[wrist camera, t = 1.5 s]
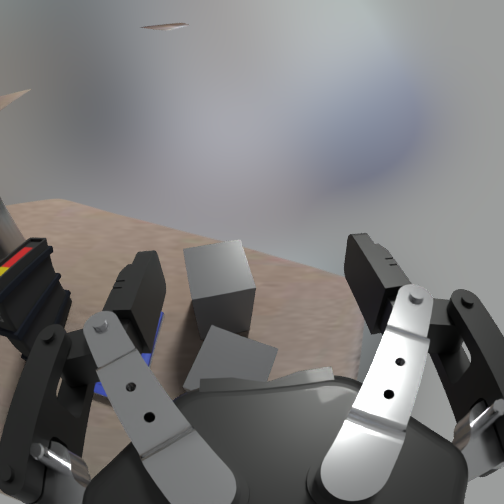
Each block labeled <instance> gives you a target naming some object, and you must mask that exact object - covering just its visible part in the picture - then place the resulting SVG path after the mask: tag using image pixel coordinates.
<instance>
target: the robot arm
mask: <svg viewBox="0 0 504 504" xmlns="http://www.w3.org/2000/svg"><path fill="white" fill-rule="evenodd" d="M25 241H26V240H25V238H24V236H23V235H22V233H21V232H20V230H19V228H18V227H17V225H16V223H15V222H14V220H13V218H12V217H11V215H10V213H9V212H8V210H7V208H6V206H5V205H4V203H3V201H2V199H1V197H0V261H1V260H2V259H4V258H5V257H6V256H7V255H9V254H10V253H11V252H12V251H13V250H15V249H16V248H17V247H19V246H20V245H21V244H22V243H24V242H25ZM344 273H345V278H346V280H347V282H348V284H349V286H350V289H351V291H352V293H353V295H354V297H355V299H356V301H357V304H358V306H359V308H360V310H361V312H362V315H363V317H364V319H365V321H366V323H367V326H368V328H369V330H370V333H371V334H377V333H382V336H383V338H382V341H381V343H380V346H379V348H378V351H377V353H376V356H375V358H374V361H373V363H372V365H371V368H370V370H369V372H368V375H367V377H366V379H365V381H364V384H362V383H361V382H359V381H356V380H354V379H351V378H347V377H342V376H334V375H333V372H332V368H331V367H325V368H318V369H311V370H304V371H299V372H296V373H293V374H290V375H287V376H284V377H281V378H278V379H275V380H272V381H269V382H261V381H254V380H246V379H240V378H233V377H229V378H205V379H200V387H199V388H197V389H194V390H191V391H188V392H186V393H184V394H182V395H180V396H179V397H177V398H175V399H174V400H173V401H172V400H171V398H170V397H169V396H168V394H167V393H166V392H165V390H164V389H163V387H162V386H161V384H160V383H159V382H158V380H157V379H156V377H155V376H154V374H153V373H152V371H151V370H150V368H149V367H148V365H147V364H146V362H145V361H144V359H143V358H142V356H141V355H142V353H146V354H152V349H153V345H154V340H155V336H156V331H157V327H158V323H159V319H160V314H161V310H162V306H163V302H164V298H165V294H166V283H165V279H164V275H163V272H162V268H161V265H160V261H159V258H158V255H157V252H156V251H155V250H153V251H143V252H138V253H137V254H136V257H135V259H134V261H133V263H132V264H128V265H127V266H126V267H125V268H124V269H123V270H122V271H121V272H120V273H119V275H118V277H117V279H116V282H115V284H114V286H113V289H112V290H111V292H110V295H109V297H108V299H107V301H106V304H105V306H104V308H103V310H102V311H101V312H98V313H96V314H94V315H92V316H91V317H90V318H89V319H88V320H87V321H86V323H85V324H84V328H83V329H80V330H77V331H73V332H69V333H66V331H65V329H64V328H63V327H62V326H61V325H59V324H52V325H49V326H47V327H46V328H44V329H43V330H42V331H41V332H40V333H39V334H38V336H37V338H36V340H35V343H34V345H33V347H32V349H31V352H30V354H29V356H28V359H27V361H26V364H25V366H24V369H23V371H22V374H21V377H20V379H19V382H18V385H17V388H16V390H15V393H14V396H13V399H12V402H11V405H10V409H9V412H8V415H7V418H6V422H5V425H4V429H3V433H2V437H1V441H0V489H1V490H2V491H3V492H4V493H6V494H8V495H10V496H12V497H14V498H16V499H18V500H21V501H22V502H23V503H25V504H464V498H465V492H466V488H467V483H468V482H469V481H471V480H473V479H475V478H476V477H485V476H487V475H489V474H491V473H493V472H495V471H496V470H498V469H500V468H501V467H503V466H504V337H503V335H502V333H501V332H500V330H499V328H498V327H497V325H496V324H495V322H494V320H493V319H492V317H491V316H490V314H489V313H488V311H487V310H486V308H485V307H484V305H483V304H482V303H481V301H480V300H479V298H478V297H477V296H476V295H475V294H473V293H472V292H470V291H467V290H464V289H458V290H456V291H454V292H453V293H452V295H451V298H450V300H444V299H434V298H433V297H432V295H431V293H429V291H428V290H426V289H425V288H423V287H421V286H418V285H413V284H411V282H410V281H409V279H408V278H407V276H406V275H405V273H404V272H403V271H402V269H401V268H400V266H399V265H397V262H396V261H395V259H393V257H392V255H391V254H390V253H389V251H388V250H387V249H385V248H384V247H382V246H381V245H380V244H374V242H373V241H372V240H371V238H370V237H369V235H368V234H367V233H363V234H362V233H361V234H350V235H349V236H348V240H347V248H346V255H345V263H344ZM463 341H464V342H465V344H466V346H467V348H468V350H469V352H470V354H471V363H470V361H469V359H468V357H467V355H466V353H465V351H464V349H463V348H462V343H463ZM427 353H429V354H430V356H431V358H432V361H433V363H434V365H435V368H436V370H437V372H438V375H439V377H440V380H441V382H442V384H443V387H444V389H445V392H446V394H447V397H448V400H449V403H450V405H451V408H452V410H453V413H454V416H455V419H456V422H457V424H456V426H455V429H454V439H453V441H452V443H451V442H450V441H448V440H446V439H445V438H443V437H442V436H440V435H439V434H437V433H436V432H434V431H432V430H431V429H429V428H428V427H426V426H425V425H423V424H422V423H420V422H419V421H417V420H416V419H414V418H413V417H411V416H410V414H411V412H412V408H413V405H414V402H415V399H416V396H417V392H418V389H419V385H420V382H421V377H422V374H423V370H424V366H425V362H426V357H427ZM60 377H61V378H62V382H61V386H60V389H59V393H58V396H56V390H57V386H58V383H59V379H60ZM97 382H101V384H102V386H103V388H104V390H105V392H106V394H107V397H108V399H109V401H110V403H111V405H112V407H113V409H114V411H115V412H116V414H117V416H118V418H119V420H120V422H121V424H122V426H123V427H124V429H125V431H126V433H127V434H128V436H129V438H130V440H131V442H130V443H129V444H128V445H127V446H126V447H125V448H124V449H123V450H122V451H121V452H120V453H119V454H118V455H117V456H116V457H115V458H114V459H113V460H112V461H111V462H110V463H109V464H108V465H107V466H106V467H105V468H104V469H102V470H101V471H100V472H99V473H98V474H97V475H96V476H95V477H94V478H93V479H92V480H91V477H90V475H89V474H88V467H87V465H86V463H85V461H84V460H83V459H82V453H83V446H84V440H85V434H86V428H87V422H88V417H89V412H90V407H91V402H92V397H93V393H94V388H95V384H96V383H97Z"/></svg>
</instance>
